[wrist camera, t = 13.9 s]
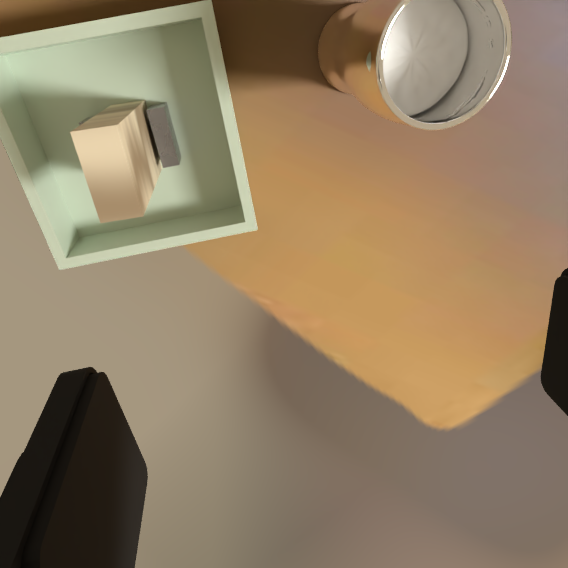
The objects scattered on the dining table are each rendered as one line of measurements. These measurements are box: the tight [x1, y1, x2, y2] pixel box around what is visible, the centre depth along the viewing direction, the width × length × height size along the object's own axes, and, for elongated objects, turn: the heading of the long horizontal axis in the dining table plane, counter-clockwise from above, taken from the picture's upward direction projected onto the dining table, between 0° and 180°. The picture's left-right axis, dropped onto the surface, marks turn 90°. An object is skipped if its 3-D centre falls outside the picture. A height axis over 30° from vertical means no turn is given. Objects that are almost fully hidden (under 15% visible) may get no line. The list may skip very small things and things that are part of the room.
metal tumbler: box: [318, 0, 512, 130], centre depth 28 cm, size 7×7×15 cm
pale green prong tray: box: [0, 0, 258, 270], centre depth 33 cm, size 15×15×5 cm
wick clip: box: [79, 102, 181, 168], centre depth 33 cm, size 4×6×2 cm
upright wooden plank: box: [70, 100, 162, 223], centre depth 30 cm, size 5×2×11 cm, turn 7°
